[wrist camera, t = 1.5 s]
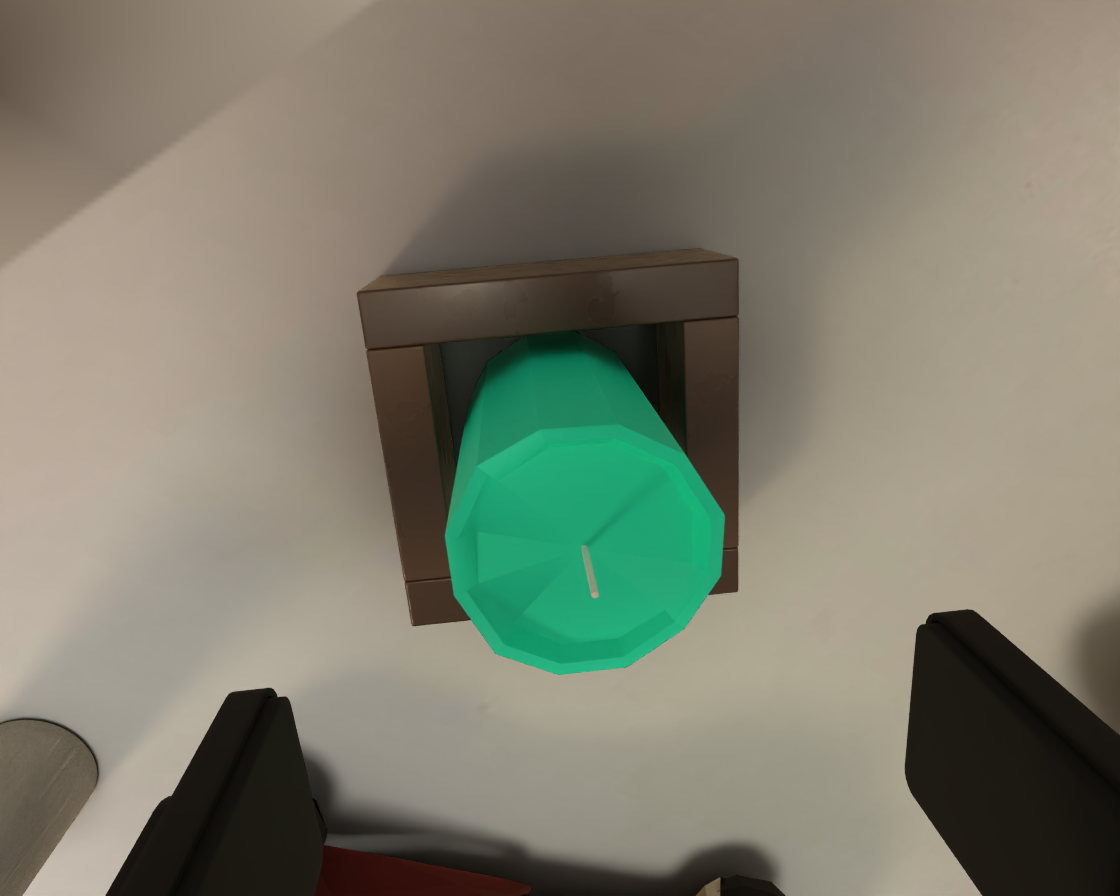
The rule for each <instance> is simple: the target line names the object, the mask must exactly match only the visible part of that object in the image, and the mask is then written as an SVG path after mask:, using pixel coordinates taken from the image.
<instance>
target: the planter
mask: <svg viewBox="0 0 1120 896" xmlns="http://www.w3.org/2000/svg"><path fill="white" fill-rule="evenodd" d="M96 782H97V767H96V763H95V760H94V758H93V756H92V754H91V752H90V750H89V749H88V748H87V747H86V745H85V744H84V743H83V742H82V741H81V740H80V739H79V738H77V737H76V736H75V735H73V734H72V733H70V732H69V731H67V730H65V729H63V728H61V727H59V726H56V725H53V724H50V723H47V722H42V721H35V720H17V721H11V722H6V723H3V724H0V896H22V895H23V894H24V892H25V891H26V889H27V888H28V886H29V885H30V884H31V882H32V881H33V879H34V878H35V876H36V875H37V873H38V872H39V870H40V869H41V868H42V866H43V865H44V863H45V862H46V860H47V859H48V857H49V856H50V854H51V853H52V852H53V850H54V849H55V847H56V846H57V844H58V843H59V841H60V840H61V838H62V837H63V836H64V834H65V833H66V831H67V830H68V828H69V827H70V825H71V824H72V822H73V821H74V820H75V818H76V817H77V815H78V814H79V812H80V811H81V809H82V808H83V806H84V805H85V803H86V802H87V800H88V798H89V797H90V795H91V793H92V792H93V790H94V788H95V785H96Z"/></svg>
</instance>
